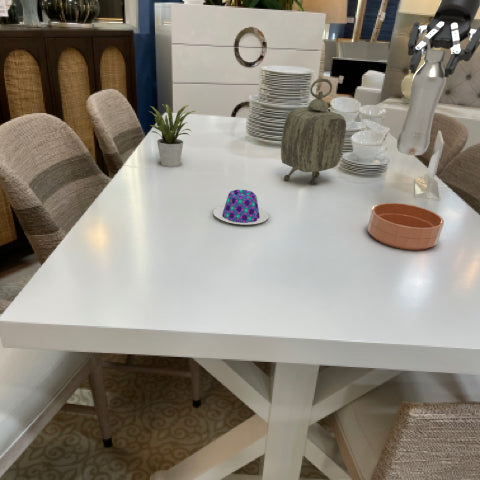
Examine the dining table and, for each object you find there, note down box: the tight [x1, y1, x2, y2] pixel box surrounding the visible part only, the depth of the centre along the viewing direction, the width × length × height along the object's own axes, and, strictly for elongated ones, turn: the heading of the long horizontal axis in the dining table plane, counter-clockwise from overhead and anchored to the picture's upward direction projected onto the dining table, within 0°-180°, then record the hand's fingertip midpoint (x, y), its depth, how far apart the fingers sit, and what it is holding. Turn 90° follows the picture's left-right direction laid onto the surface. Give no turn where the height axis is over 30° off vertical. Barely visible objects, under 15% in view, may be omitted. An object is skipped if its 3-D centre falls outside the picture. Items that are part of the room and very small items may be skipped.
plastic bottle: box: [396, 49, 447, 156], centre depth 98 cm, size 6×7×20 cm
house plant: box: [148, 102, 195, 168], centre depth 128 cm, size 14×14×16 cm
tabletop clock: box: [280, 78, 347, 185], centre depth 120 cm, size 14×9×25 cm, turn 124°
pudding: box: [212, 189, 269, 226], centre depth 101 cm, size 12×12×5 cm
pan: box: [367, 202, 445, 251], centre depth 98 cm, size 14×14×5 cm
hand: (429, 71), depth 93 cm, fingers closed on plastic bottle, 6 cm apart
